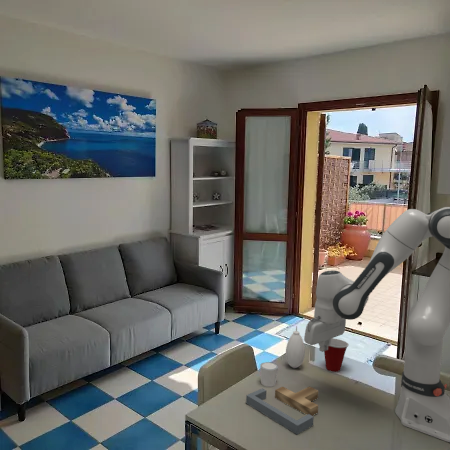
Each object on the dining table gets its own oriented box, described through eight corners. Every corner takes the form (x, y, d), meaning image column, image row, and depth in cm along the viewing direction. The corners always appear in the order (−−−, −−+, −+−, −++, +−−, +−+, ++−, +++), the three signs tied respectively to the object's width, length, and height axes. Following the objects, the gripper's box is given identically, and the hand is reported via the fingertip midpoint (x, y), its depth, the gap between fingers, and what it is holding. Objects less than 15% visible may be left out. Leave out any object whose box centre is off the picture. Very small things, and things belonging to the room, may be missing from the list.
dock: (313, 425, 139) (313, 416, 138) (297, 434, 133) (297, 425, 133) (262, 396, 156) (262, 388, 156) (246, 403, 151) (246, 395, 150)
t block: (331, 405, 151) (332, 397, 151) (310, 417, 143) (310, 409, 143) (296, 387, 163) (296, 380, 163) (274, 397, 155) (275, 389, 155)
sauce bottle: (287, 361, 186) (289, 321, 183) (305, 365, 183) (307, 324, 181) (283, 369, 178) (285, 327, 176) (301, 372, 175) (304, 330, 173)
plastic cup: (351, 368, 181) (353, 341, 179) (339, 377, 172) (341, 348, 171) (327, 360, 188) (329, 334, 186) (315, 368, 180) (317, 341, 178)
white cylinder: (276, 388, 162) (277, 370, 161) (258, 386, 163) (259, 368, 162) (277, 380, 169) (278, 363, 168) (260, 377, 170) (261, 360, 169)
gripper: (315, 322, 148) (312, 360, 149) (349, 311, 161) (346, 347, 163) (301, 317, 152) (298, 354, 154) (335, 307, 166) (332, 341, 167)
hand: (323, 350), depth 158 cm, fingers closed
